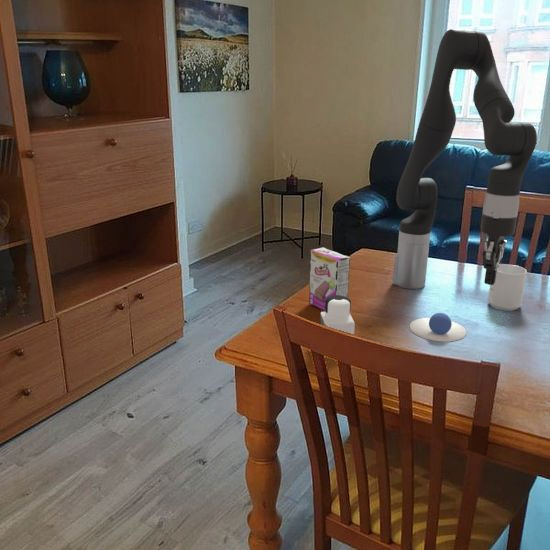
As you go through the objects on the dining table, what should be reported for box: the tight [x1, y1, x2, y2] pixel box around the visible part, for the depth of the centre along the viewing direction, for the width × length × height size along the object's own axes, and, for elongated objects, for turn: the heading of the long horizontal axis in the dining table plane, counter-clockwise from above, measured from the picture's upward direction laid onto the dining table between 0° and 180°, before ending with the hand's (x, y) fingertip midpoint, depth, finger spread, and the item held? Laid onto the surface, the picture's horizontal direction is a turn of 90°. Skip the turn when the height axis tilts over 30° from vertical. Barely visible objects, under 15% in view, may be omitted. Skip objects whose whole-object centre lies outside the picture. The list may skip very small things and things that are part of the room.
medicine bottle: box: [319, 295, 356, 335], centre depth 134 cm, size 7×7×12 cm
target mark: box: [409, 317, 467, 343], centre depth 144 cm, size 14×14×1 cm
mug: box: [487, 263, 528, 312], centre depth 159 cm, size 12×9×11 cm
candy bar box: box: [308, 246, 351, 312], centre depth 154 cm, size 11×5×16 cm, turn 37°
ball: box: [429, 312, 452, 335], centre depth 141 cm, size 6×6×6 cm
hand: (489, 283), depth 134 cm, fingers closed
